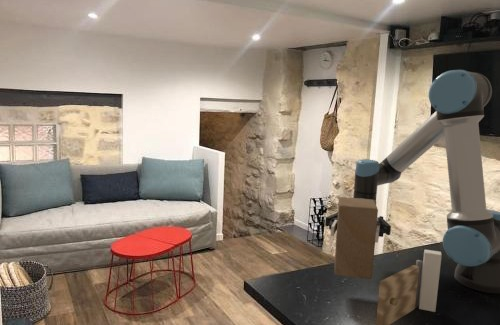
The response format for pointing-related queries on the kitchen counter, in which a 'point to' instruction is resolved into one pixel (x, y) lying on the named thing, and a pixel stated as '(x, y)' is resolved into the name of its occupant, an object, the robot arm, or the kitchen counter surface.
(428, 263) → the wall stub
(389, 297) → the gate
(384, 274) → the kitchen counter surface
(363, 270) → the wooden block
